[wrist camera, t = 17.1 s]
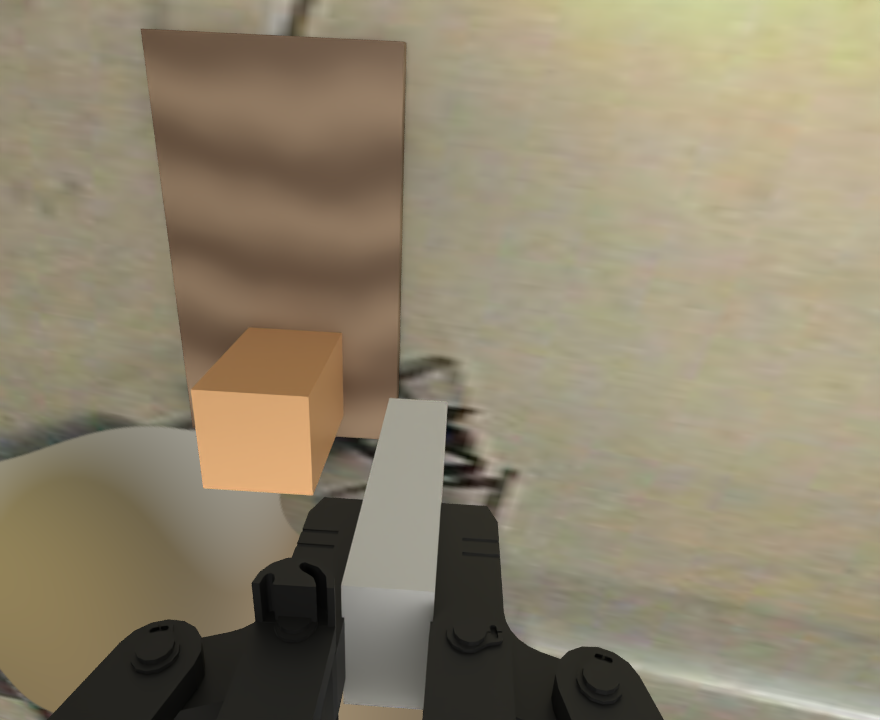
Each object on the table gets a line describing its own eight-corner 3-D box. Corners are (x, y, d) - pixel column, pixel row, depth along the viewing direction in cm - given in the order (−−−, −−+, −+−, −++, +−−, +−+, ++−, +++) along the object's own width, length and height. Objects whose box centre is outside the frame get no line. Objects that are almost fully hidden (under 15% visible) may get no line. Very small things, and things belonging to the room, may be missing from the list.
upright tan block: (248, 327, 42) (190, 389, 33) (341, 332, 42) (308, 396, 33) (255, 409, 45) (203, 488, 36) (343, 415, 44) (312, 495, 36)
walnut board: (153, 31, 36) (140, 28, 35) (406, 43, 36) (403, 41, 35) (200, 417, 47) (193, 427, 45) (397, 429, 46) (395, 440, 45)
